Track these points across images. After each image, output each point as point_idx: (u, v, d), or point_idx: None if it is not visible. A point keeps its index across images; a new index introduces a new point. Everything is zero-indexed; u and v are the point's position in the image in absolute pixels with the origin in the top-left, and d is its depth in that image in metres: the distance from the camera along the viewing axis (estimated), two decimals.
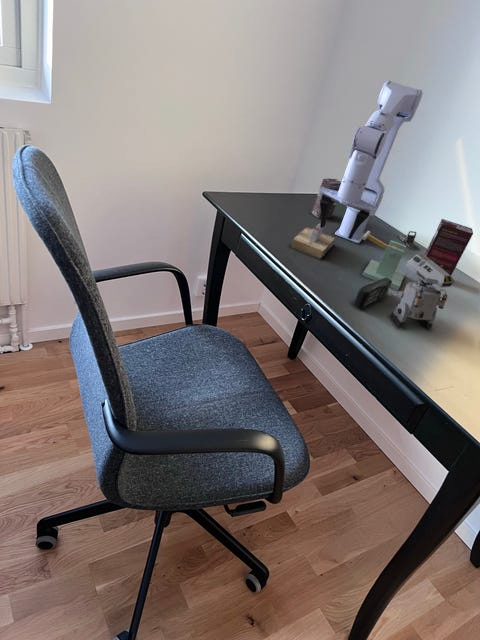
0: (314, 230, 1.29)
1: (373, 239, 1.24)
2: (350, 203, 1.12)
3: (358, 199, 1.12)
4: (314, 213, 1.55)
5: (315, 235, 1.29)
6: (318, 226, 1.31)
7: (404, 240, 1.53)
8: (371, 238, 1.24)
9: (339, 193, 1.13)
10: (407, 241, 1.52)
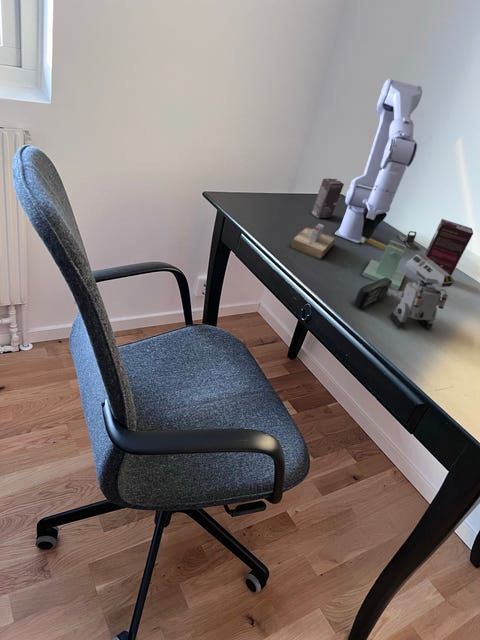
0: (314, 230, 1.29)
1: (372, 241, 1.25)
2: (366, 203, 1.20)
3: (373, 202, 1.18)
4: (314, 213, 1.55)
5: (315, 235, 1.29)
6: (318, 226, 1.31)
7: (404, 240, 1.53)
8: (370, 241, 1.25)
9: None
10: (407, 241, 1.52)
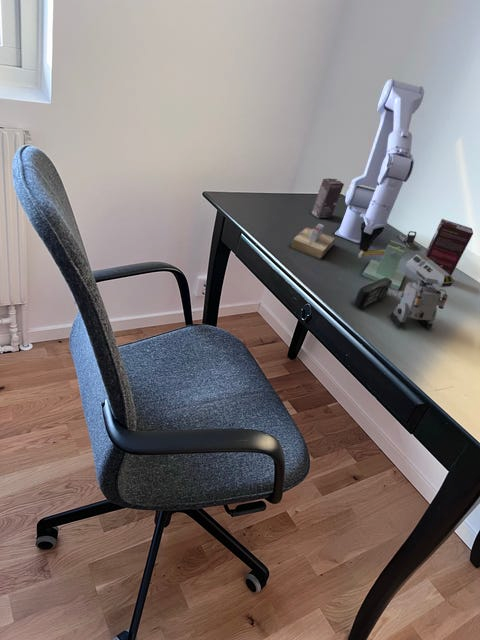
0: (314, 230, 1.29)
1: (369, 252, 1.26)
2: (364, 217, 1.22)
3: (370, 216, 1.20)
4: (314, 213, 1.55)
5: (315, 235, 1.29)
6: (318, 226, 1.31)
7: (404, 240, 1.53)
8: (367, 252, 1.27)
9: None
10: (407, 241, 1.52)
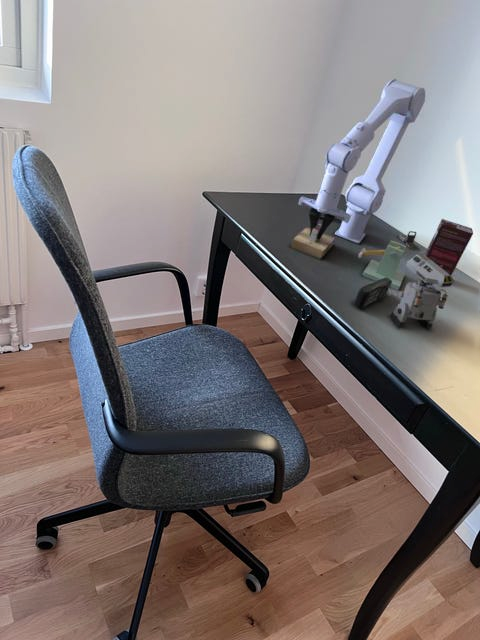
0: (314, 230, 1.29)
1: (369, 252, 1.26)
2: (326, 211, 1.25)
3: (334, 207, 1.25)
4: None
5: (315, 235, 1.29)
6: (318, 226, 1.31)
7: (404, 240, 1.53)
8: (367, 252, 1.27)
9: (317, 202, 1.26)
10: (407, 241, 1.52)
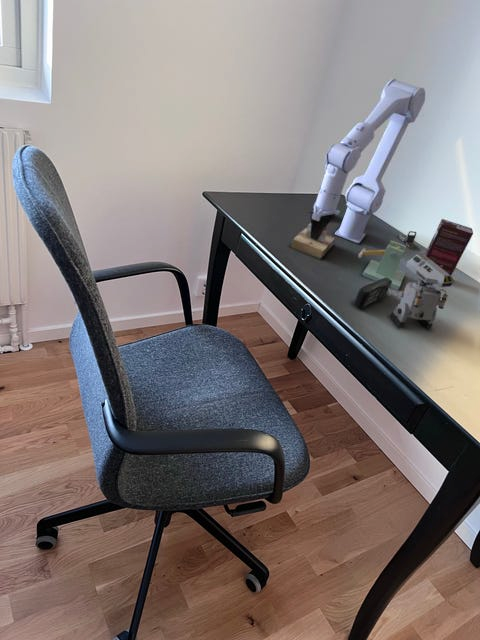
0: (327, 231, 1.30)
1: (369, 252, 1.26)
2: None
3: None
4: None
5: (326, 235, 1.31)
6: None
7: (404, 240, 1.53)
8: (367, 252, 1.27)
9: (330, 208, 1.25)
10: (407, 241, 1.52)
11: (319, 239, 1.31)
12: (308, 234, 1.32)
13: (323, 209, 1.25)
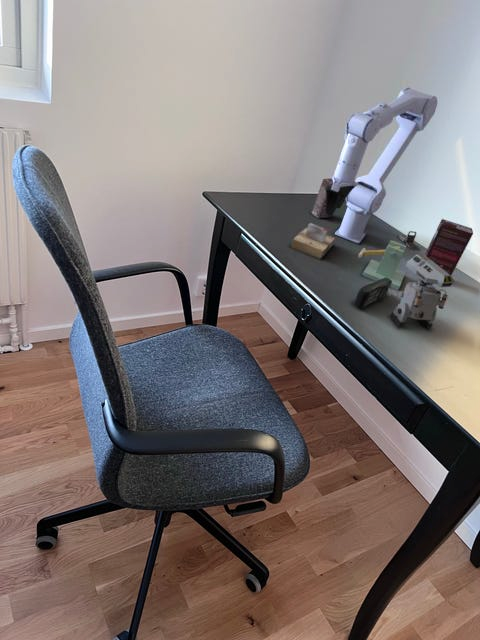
0: (327, 231, 1.30)
1: (369, 252, 1.26)
2: None
3: None
4: (314, 213, 1.55)
5: (326, 235, 1.31)
6: (317, 226, 1.30)
7: (404, 240, 1.53)
8: (367, 252, 1.27)
9: (349, 179, 1.23)
10: (407, 241, 1.52)
11: (319, 239, 1.31)
12: (308, 234, 1.32)
13: (342, 180, 1.24)
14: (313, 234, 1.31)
